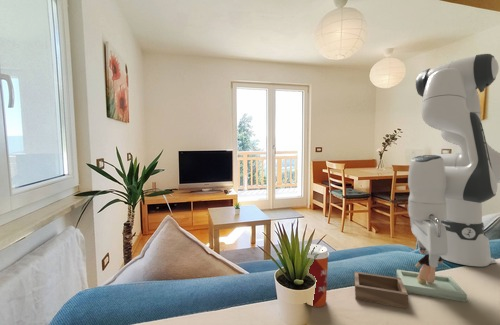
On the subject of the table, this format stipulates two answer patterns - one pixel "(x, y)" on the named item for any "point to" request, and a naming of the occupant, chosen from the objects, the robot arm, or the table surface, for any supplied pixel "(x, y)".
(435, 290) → the tray
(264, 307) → the table surface
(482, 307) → the table surface
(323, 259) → the red shaker can
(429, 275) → the grandmother figurine
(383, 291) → the holder
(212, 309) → the table surface
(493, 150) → the robot arm
